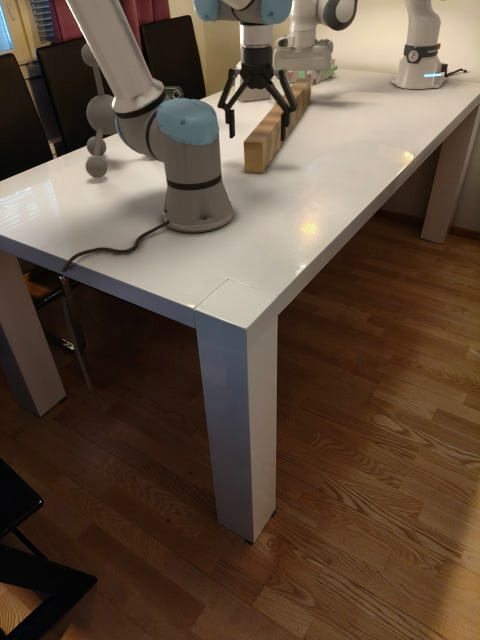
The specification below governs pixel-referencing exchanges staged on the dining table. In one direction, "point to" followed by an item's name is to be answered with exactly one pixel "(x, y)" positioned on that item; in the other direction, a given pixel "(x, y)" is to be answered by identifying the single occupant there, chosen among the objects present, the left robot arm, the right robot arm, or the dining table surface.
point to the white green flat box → (312, 74)
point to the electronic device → (249, 93)
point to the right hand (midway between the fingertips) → (301, 84)
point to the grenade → (174, 92)
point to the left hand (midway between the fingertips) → (257, 138)
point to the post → (274, 129)
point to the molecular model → (98, 119)
